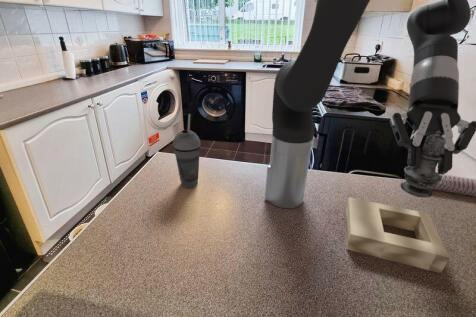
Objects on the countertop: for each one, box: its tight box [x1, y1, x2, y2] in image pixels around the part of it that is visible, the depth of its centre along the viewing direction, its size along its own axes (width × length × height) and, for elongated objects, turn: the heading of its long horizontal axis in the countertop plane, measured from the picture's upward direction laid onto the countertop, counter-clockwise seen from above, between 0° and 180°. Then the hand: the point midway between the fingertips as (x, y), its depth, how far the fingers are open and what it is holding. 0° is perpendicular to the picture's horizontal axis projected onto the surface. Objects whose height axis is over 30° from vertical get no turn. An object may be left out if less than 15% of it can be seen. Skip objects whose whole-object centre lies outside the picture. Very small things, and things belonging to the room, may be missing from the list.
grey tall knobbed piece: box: [399, 130, 446, 199], centre depth 47 cm, size 6×6×12 cm
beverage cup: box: [172, 113, 202, 189], centre depth 68 cm, size 7×7×20 cm
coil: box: [401, 174, 476, 197], centre depth 72 cm, size 5×5×18 cm
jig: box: [344, 197, 450, 274], centre depth 54 cm, size 16×13×4 cm
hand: (428, 170), depth 45 cm, fingers closed on grey tall knobbed piece, 3 cm apart
